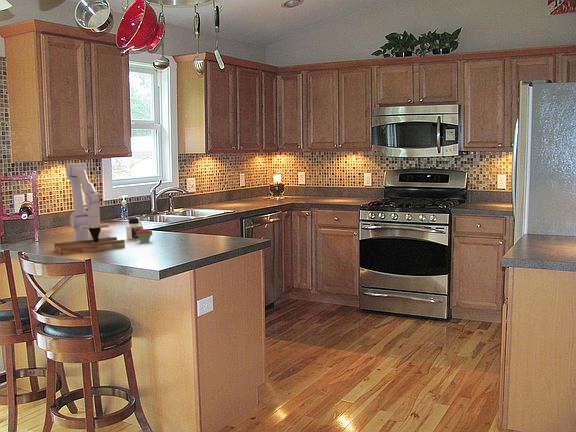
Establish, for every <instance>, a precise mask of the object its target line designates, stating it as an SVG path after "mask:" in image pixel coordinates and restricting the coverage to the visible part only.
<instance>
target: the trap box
mask: <svg viewBox="0 0 576 432" xmlns="http://www.w3.org/2000/svg"><path fill="white" fill-rule="evenodd" d="M110 237H111V241H106V242H97V243H94V241H93V238H92V239H89V240H82V241H74V240H73V241H64V242H55V243H54V244H53V245H54V252H56V253H58V254H59V255H61V256H63V255H70V254H77V253H78V254H80V253H86V252H97V251H106V250H114V249H123V248H126V247H125V246H126V243H125V242H126V241H125V239H118V238H117V236H110Z"/></svg>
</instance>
